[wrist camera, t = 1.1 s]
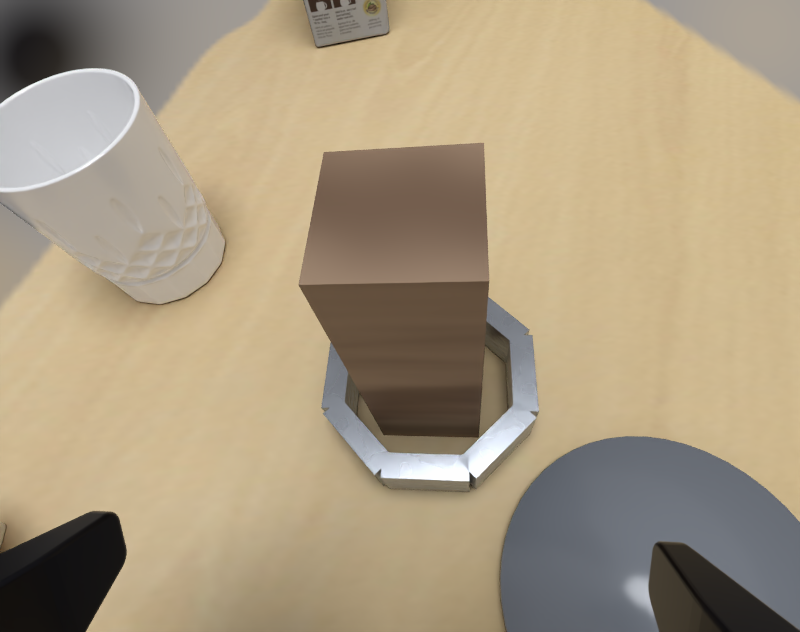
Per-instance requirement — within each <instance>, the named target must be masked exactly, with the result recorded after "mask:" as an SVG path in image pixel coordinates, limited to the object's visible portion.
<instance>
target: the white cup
mask: <svg viewBox="0 0 800 632" xmlns="http://www.w3.org/2000/svg"><path fill="white" fill-rule="evenodd" d="M0 203H1V204H2V205H3V206H5V207H6V208H7V209H9V210H10V211H12V212H13V213H14V214H16V215H17V216H18V217H20V218H21V219H22V220H24V221H25V222H26V223H28V224H29V225H30V226H32V227H33V228H34V229H36V230H37V231H38V232H40V233H41V234H42V235H44V236H45V237H47V238H48V239H49V240H50V241H52V242H53V243H54V244H56V245H57V246H58V247H60V248H61V249H62V250H64V251H65V252H66V253H68V254H69V255H70V256H72V257H73V258H74V259H76V260H77V261H79V262H80V263H82V264H83V265H85V266H87V267H88V268H90V269H91V270H92V271H93V272H95V273H96V274H98V275H101V276H103V277H105V278H106V279H108V280H109V281H111V282H112V283H114V284H115V285H117V286H118V287H119V288H120V289H122V290H123V291H124V292H126V293H127V294H128V295H129V296H131V297H132V298H133V299H135V300H136V301H138V302H146V303H154V304H164V303H167V302H171V301H174V300H178V299H181V298H185V297H187V296H188V295H190V294H191V293H193V292H194V291H195V290H197V289H198V288H200V287H201V286H203V285H204V284H206V283H207V282H208V281H209V279H210V278H211V276H212V275H213V274H214V272H215V271H216V270H217V268H218V267H219V265H220V264H221V262H222V257H223V252H224V247H225V240H224V238H223V235H222V233H221V230H220V228H219V225H218V224H217V222H216V220H215V219H214V217H213V216H212V214H211V212H210V211H209V209H208V208H207V206H206V202H205V200H204V198H203V196H202V194H201V193H200V191H199V189H198V188H197V186H196V184H195V182H194V180H193V179H192V177H191V175H190V173H189V171H188V170H187V168H186V166H185V165H184V163H183V161H182V160H181V158H180V157H179V155H178V153H177V152H176V150H175V148H174V147H173V145H172V143H171V142H170V140H169V139H168V137H167V135H166V134H165V132H164V130H163V129H162V127H161V126H160V124H159V122H158V121H157V119H156V117H155V116H154V114H153V112H152V111H151V109H150V107H149V106H148V104H147V102H146V101H145V99H144V97H143V96H142V94H141V93H140V91H139V89H138V87H137V86H136V85H135V83H134V82H133V81H132V80H131V79H130V78H128V77H127V76H126V75H124V74H122V73H120V72H117V71H114V70H109V69H100V68H93V69H91V68H90V69H79V70H73V71H69V72H65V73H61V74H57V75H54V76H51V77H48V78H46V79H43V80H41V81H39V82H36V83H34V84H32V85H30V86H28V87H26V88H24V89H22V90H20V91H19V92H17V93H15V94H14V95H12V96H11V97H9V98H8V99H6V100H5V101H3V102H2V103H1V104H0Z"/></svg>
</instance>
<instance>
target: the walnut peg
mask: <svg viewBox="0 0 800 632" xmlns="http://www.w3.org/2000/svg"><path fill="white" fill-rule="evenodd" d="M299 287H300V288H301V290H302V292H303V294H304V295H305V297H306V299H307V301H308V302H309V304H310V306H311V308H312V309H313V311H314V313H315V315H316V317H317V318H318V320H319V322H320V324H321V325H322V327H323V329H324V331H325V332H326V334H327V336H328V338H329V339H330V341H331V343H332V345H333V346H334V348H335V350H336V352H337V353H338V355H339V357H340V359H341V360H342V362H343V364H344V366H345V368H346V369H347V371H348V373H349V375H350V376H351V378H352V380H353V382H354V383H355V385H356V387H357V389H358V390H359V392H360V394H361V396H362V397H363V399H364V401H365V403H366V404H367V406H368V408H369V410H370V411H371V413H372V415H373V417H374V419H375V420H376V422H377V424H378V426H379V427H380V429H381V431H382V433H383V434H384V435H407V436H447V437H479V423H480V408H481V393H482V379H483V364H484V349H485V334H486V320H487V305H488V290H489V265H488V239H487V213H486V187H485V161H484V143H473V144H456V145H439V146H422V147H405V148H388V149H371V150H354V151H337V152H324V155H323V160H322V165H321V170H320V175H319V181H318V186H317V191H316V196H315V202H314V207H313V212H312V217H311V222H310V228H309V233H308V238H307V243H306V249H305V254H304V259H303V264H302V269H301V275H300V280H299Z"/></svg>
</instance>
